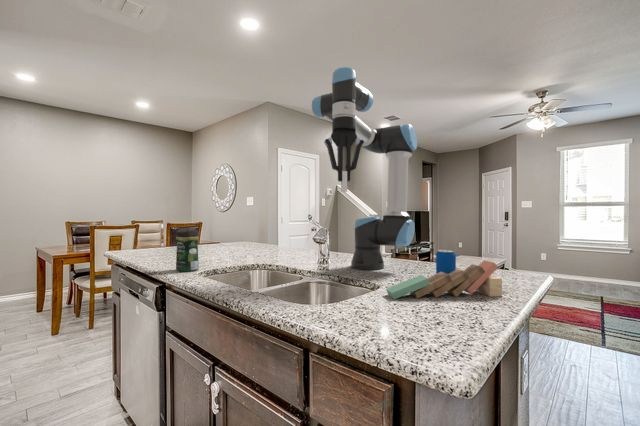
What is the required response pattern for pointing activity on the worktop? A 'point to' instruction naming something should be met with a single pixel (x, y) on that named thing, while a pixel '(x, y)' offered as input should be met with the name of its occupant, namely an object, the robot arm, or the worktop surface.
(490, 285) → the oak block
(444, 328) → the worktop surface
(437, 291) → the tile
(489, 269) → the red end tile
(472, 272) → the tile
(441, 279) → the tile
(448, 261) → the blue rectangular box
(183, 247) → the coffee jar
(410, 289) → the green tile
